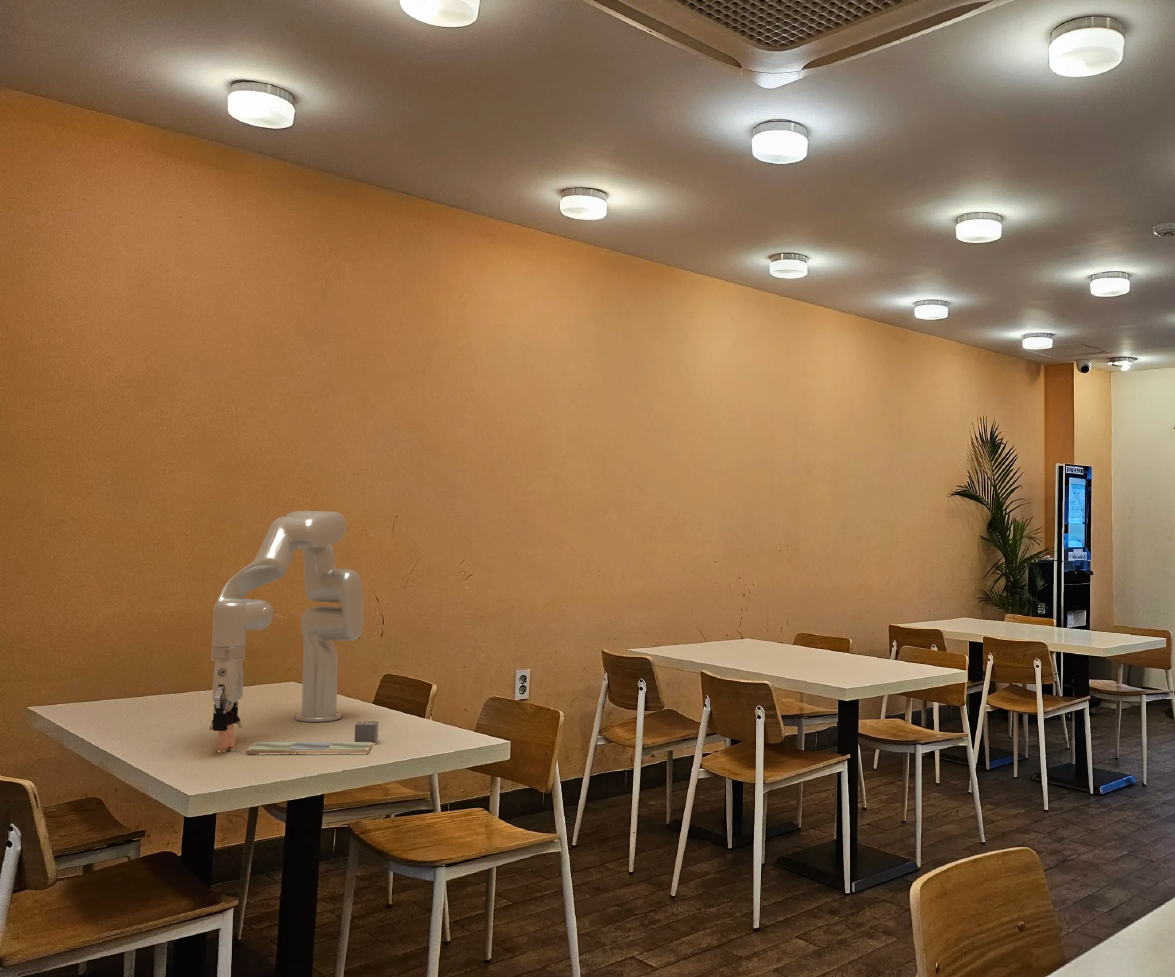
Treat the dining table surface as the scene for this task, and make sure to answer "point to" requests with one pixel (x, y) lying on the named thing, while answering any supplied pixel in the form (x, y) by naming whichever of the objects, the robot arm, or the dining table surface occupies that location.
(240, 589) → the robot arm
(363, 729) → the die
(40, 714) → the dining table surface
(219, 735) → the grandmother figurine
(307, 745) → the board
